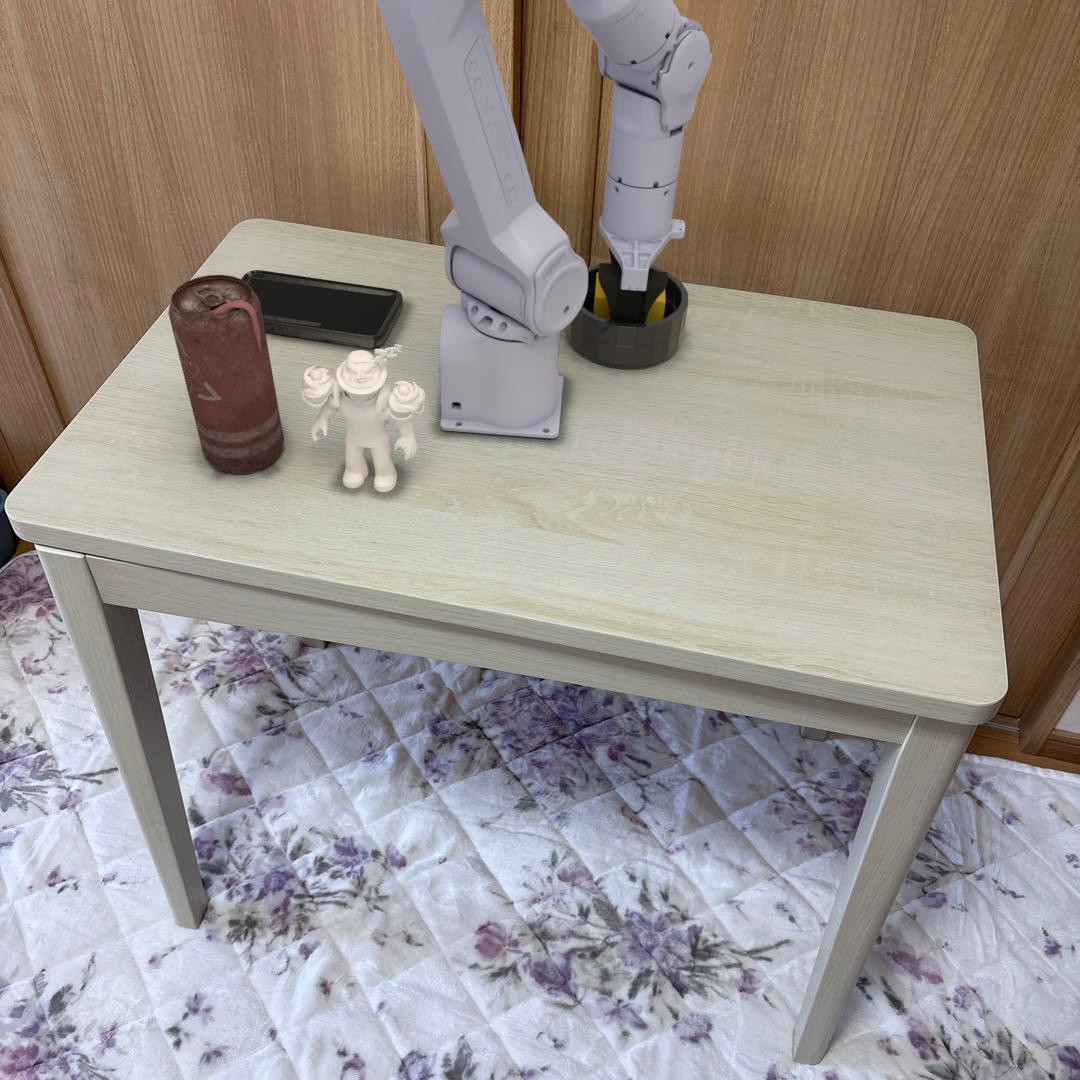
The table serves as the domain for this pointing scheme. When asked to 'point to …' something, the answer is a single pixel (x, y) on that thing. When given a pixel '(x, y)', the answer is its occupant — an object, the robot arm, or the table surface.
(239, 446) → the can
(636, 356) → the bowl
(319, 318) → the phone
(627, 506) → the table surface
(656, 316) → the sponge
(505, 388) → the robot arm
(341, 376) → the flower shoulder figurine
